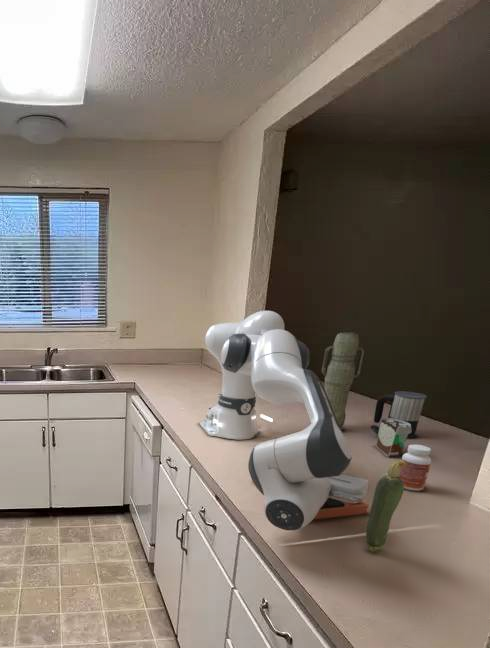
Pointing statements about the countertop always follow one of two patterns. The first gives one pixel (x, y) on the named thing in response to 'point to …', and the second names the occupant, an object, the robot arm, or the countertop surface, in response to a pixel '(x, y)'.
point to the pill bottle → (415, 467)
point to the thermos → (341, 372)
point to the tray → (343, 510)
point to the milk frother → (401, 409)
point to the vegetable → (384, 506)
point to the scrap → (332, 503)
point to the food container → (392, 436)
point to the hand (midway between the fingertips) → (323, 468)
